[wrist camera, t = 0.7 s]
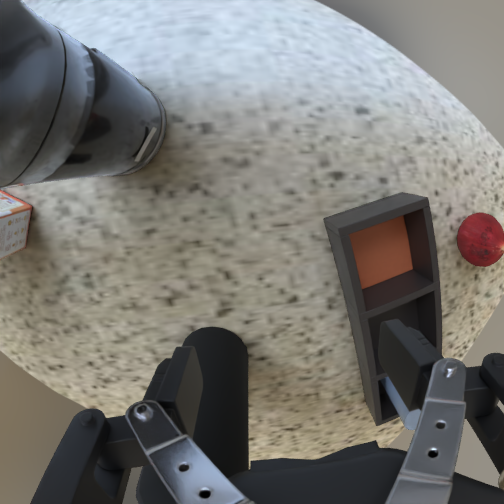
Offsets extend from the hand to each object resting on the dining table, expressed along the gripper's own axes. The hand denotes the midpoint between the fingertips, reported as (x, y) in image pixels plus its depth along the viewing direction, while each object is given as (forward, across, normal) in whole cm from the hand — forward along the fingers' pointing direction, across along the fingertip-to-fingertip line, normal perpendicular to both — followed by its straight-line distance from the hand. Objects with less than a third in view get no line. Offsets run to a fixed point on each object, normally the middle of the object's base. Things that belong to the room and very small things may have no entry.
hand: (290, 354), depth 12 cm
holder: (+18, -13, +9) cm, 24 cm away
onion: (+18, -23, +1) cm, 29 cm away
